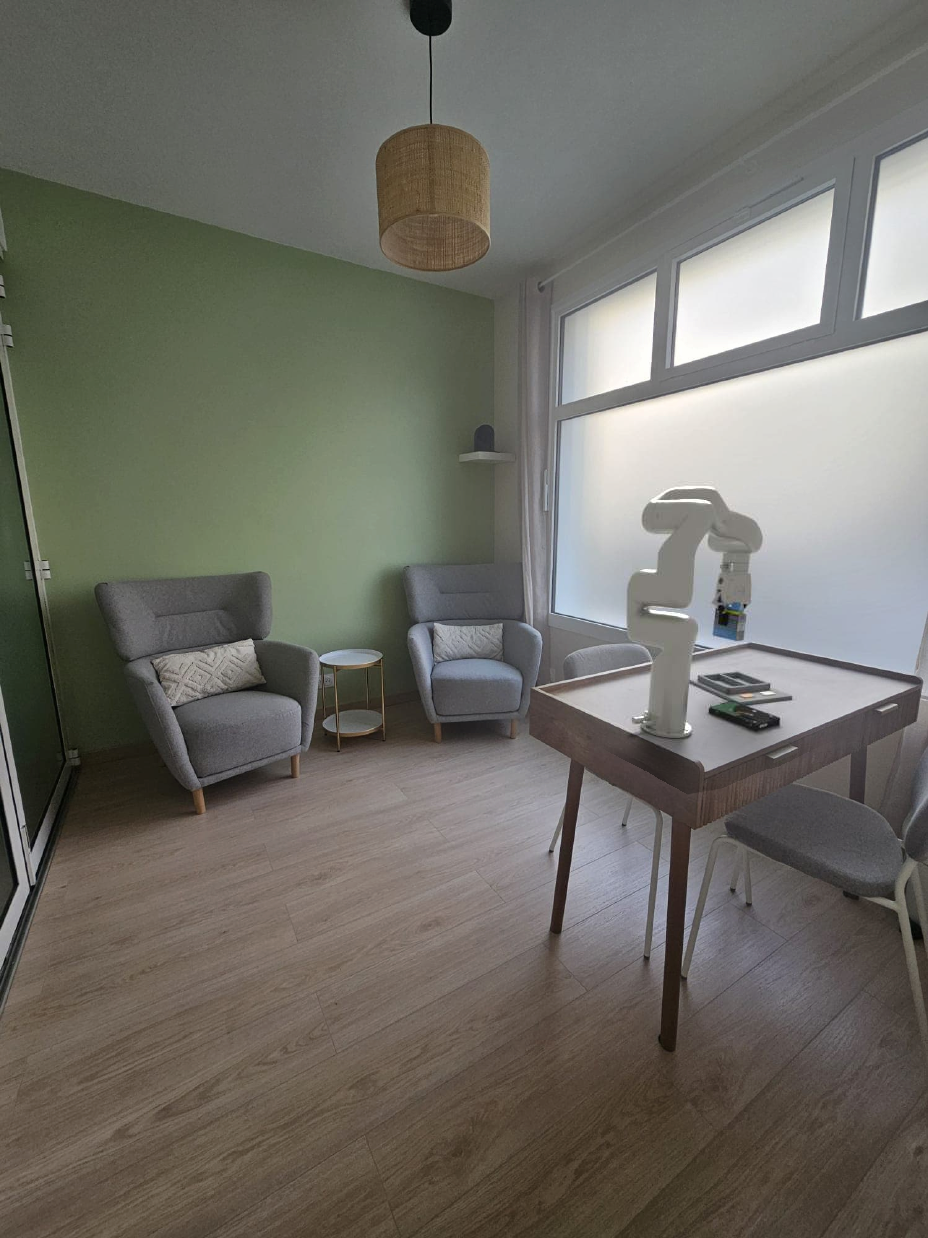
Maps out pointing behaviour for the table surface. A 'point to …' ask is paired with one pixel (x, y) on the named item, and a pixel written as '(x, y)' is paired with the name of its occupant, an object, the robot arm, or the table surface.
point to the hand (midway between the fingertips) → (729, 624)
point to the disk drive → (744, 716)
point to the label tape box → (731, 624)
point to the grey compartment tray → (739, 688)
